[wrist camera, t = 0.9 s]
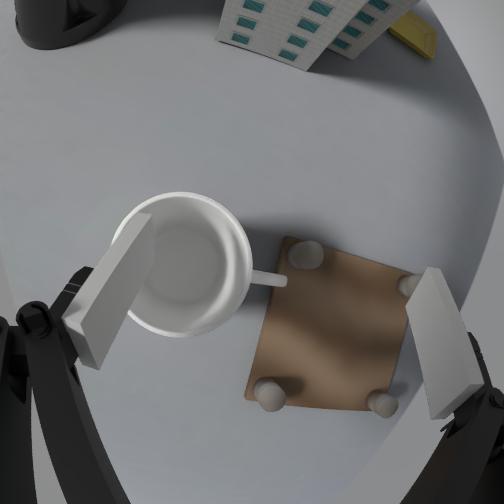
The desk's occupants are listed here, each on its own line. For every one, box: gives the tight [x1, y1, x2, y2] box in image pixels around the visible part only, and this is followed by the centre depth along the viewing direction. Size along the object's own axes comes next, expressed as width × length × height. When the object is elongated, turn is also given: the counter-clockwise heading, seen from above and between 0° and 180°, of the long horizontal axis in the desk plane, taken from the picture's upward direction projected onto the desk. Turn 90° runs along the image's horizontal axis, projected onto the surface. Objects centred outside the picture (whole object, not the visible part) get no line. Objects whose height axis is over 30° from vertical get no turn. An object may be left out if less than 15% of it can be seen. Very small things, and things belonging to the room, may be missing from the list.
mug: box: [111, 192, 287, 337], centre depth 23 cm, size 12×8×12 cm
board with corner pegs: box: [244, 236, 423, 418], centre depth 30 cm, size 16×16×4 cm
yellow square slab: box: [389, 10, 437, 59], centre depth 36 cm, size 9×9×2 cm
